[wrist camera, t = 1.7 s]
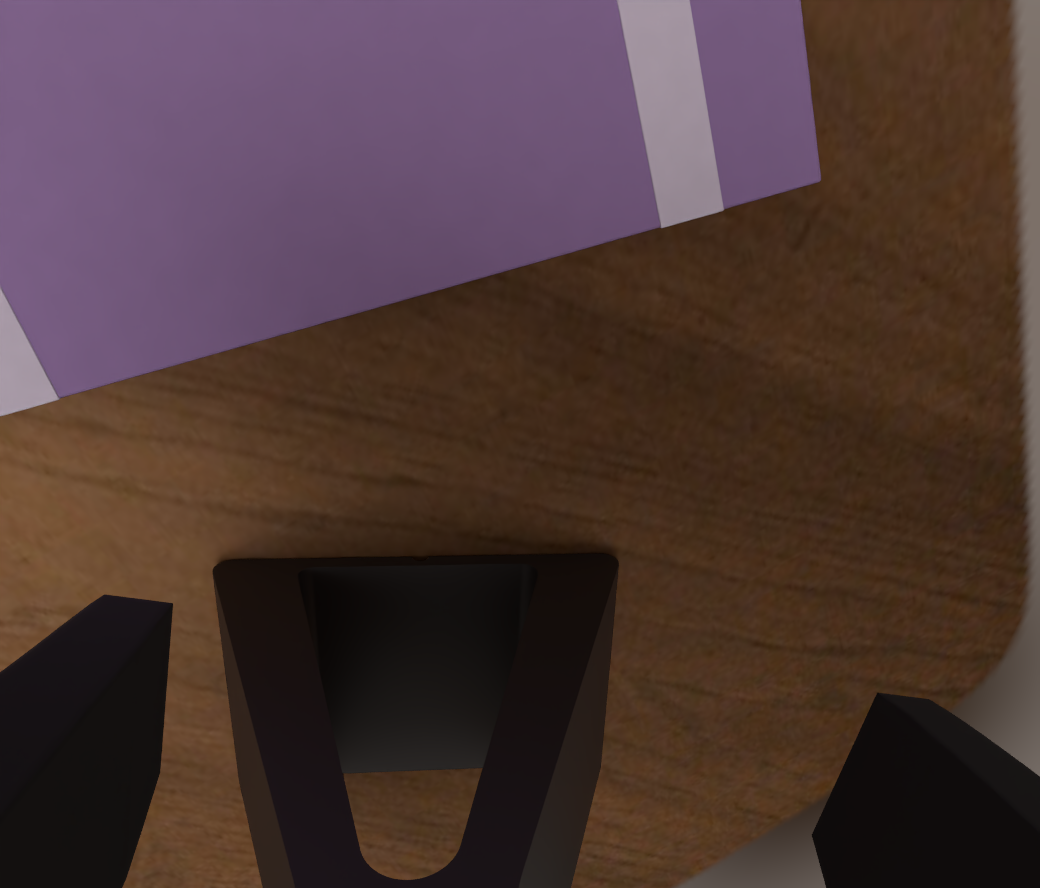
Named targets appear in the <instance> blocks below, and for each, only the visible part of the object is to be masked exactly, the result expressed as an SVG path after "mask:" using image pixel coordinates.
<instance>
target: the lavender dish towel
mask: <svg viewBox="0 0 1040 888" xmlns="http://www.w3.org/2000/svg"><path fill="white" fill-rule="evenodd" d="M819 181H821V174H820V165H819V157H818V148H817V139H816V131H815V122H814V113H813V105H812V96H811V87H810V79H809V70H808V61H807V53H806V44H805V35H804V27H803V18H802V10H801V1H800V0H0V416H3V415H7V414H10V413H14V412H18V411H21V410H25V409H28V408H32V407H35V406H39V405H42V404H46V403H49V402H53V401H56V400H59V399H60V398H62V397H66V396H69V395H73V394H76V393H80V392H83V391H87V390H90V389H94V388H97V387H101V386H104V385H108V384H111V383H115V382H118V381H122V380H125V379H129V378H132V377H136V376H140V375H143V374H147V373H150V372H154V371H157V370H161V369H164V368H168V367H171V366H175V365H178V364H182V363H185V362H189V361H192V360H196V359H199V358H203V357H206V356H210V355H213V354H217V353H220V352H224V351H227V350H231V349H234V348H238V347H241V346H245V345H248V344H252V343H255V342H259V341H263V340H266V339H270V338H273V337H277V336H280V335H284V334H287V333H291V332H294V331H298V330H301V329H305V328H308V327H312V326H315V325H319V324H322V323H326V322H329V321H333V320H336V319H340V318H343V317H347V316H350V315H354V314H357V313H361V312H364V311H368V310H371V309H375V308H379V307H382V306H386V305H389V304H393V303H396V302H400V301H403V300H407V299H410V298H414V297H417V296H421V295H424V294H428V293H431V292H435V291H438V290H442V289H445V288H449V287H452V286H456V285H459V284H463V283H466V282H470V281H473V280H477V279H480V278H484V277H487V276H491V275H495V274H498V273H502V272H505V271H509V270H512V269H516V268H519V267H523V266H526V265H530V264H533V263H537V262H540V261H544V260H547V259H551V258H554V257H558V256H561V255H565V254H568V253H572V252H575V251H579V250H582V249H586V248H589V247H593V246H596V245H600V244H603V243H607V242H610V241H614V240H618V239H621V238H625V237H628V236H632V235H635V234H639V233H642V232H646V231H649V230H653V229H656V228H660V227H661V228H664V227H668V226H671V225H675V224H678V223H682V222H685V221H689V220H692V219H696V218H700V217H703V216H707V215H710V214H714V213H717V212H721V211H724V209H726V208H730V207H734V206H737V205H741V204H744V203H748V202H751V201H755V200H758V199H762V198H765V197H769V196H772V195H776V194H779V193H783V192H786V191H790V190H793V189H797V188H800V187H804V186H807V185H811V184H814V183H818V182H819Z"/></svg>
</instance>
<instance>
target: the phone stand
mask: <svg viewBox="0 0 1040 888" xmlns="http://www.w3.org/2000/svg"><path fill="white" fill-rule="evenodd" d="M618 568H619V562H618V560H617V559H616V558H615V557H613V556H611V555H608V554H545V555H487V556H429V557H428V559H426V560H424V561H416V560H414V559H413V558H412V557H370V558H312V559H253V560H228V561H224V562H221V563H219V564H218V565H216V566H215V567H214V568H213V579H214V587H215V595H216V603H217V610H218V618H219V626H220V634H221V642H222V650H223V658H224V666H225V674H226V682H227V690H228V697H229V705H230V713H231V721H232V729H233V737H234V745H235V753H236V761H237V769H238V777H239V783H240V787H241V792H242V796H243V801H244V805H245V810H246V814H247V819H248V823H249V828H250V832H251V837H252V841H253V846H254V850H255V855H256V859H257V864H258V868H259V872H260V877H261V881H262V886H263V888H571V885H572V881H573V876H574V872H575V868H576V864H577V860H578V856H579V852H580V848H581V844H582V840H583V836H584V832H585V828H586V824H587V820H588V816H589V812H590V808H591V804H592V800H593V796H594V792H595V788H596V784H597V780H598V776H599V772H600V768H601V759H602V747H603V736H604V725H605V714H606V702H607V691H608V680H609V669H610V657H611V646H612V635H613V624H614V613H615V601H616V590H617V579H618ZM468 768H483V769H482V773H481V776H480V780H479V783H478V787H477V790H476V794H475V797H474V801H473V804H472V808H471V811H470V815H469V818H468V822H467V825H466V829H465V832H464V836H463V839H462V843H461V846H460V849H459V851H458V853H457V854H456V856H455V857H454V859H453V860H452V861H451V862H450V863H449V864H448V865H447V866H446V867H444V868H443V869H442V870H440V871H438V872H437V873H435V874H433V875H430V876H428V877H425V878H421V879H415V880H398V879H393V878H389V877H386V876H384V875H381V874H379V873H378V872H376V871H375V870H373V869H372V868H371V867H370V866H369V865H368V864H367V863H366V861H365V860H364V858H363V856H362V854H361V851H360V847H359V843H358V839H357V834H356V830H355V826H354V821H353V817H352V812H351V808H350V804H349V799H348V795H347V791H346V786H345V782H344V777H343V773H366V772H391V771H417V770H442V769H468Z"/></svg>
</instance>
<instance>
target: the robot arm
mask: <svg viewBox="0 0 1040 888" xmlns="http://www.w3.org/2000/svg"><path fill="white" fill-rule="evenodd" d="M172 610H173V603H167V602H159V601H151V600H143V599H135V598H127V597H119V596H111V595H103V596H102V597H100V598H99V599H97V600H96V601H94V602H92V603H91V604H90V605H88V606H87V607H86V608H84V609H83V610H82V611H80V612H79V613H78V614H76V615H75V616H74V617H72V618H71V619H70V620H68V621H67V622H66V623H64V624H63V625H62V626H61V627H59V628H58V629H57V630H55V631H54V632H53V633H51V634H50V635H49V636H48V637H46V638H45V639H44V640H42V641H41V642H40V643H38V644H37V645H36V646H34V647H33V648H32V649H31V650H29V651H28V652H27V653H25V654H24V655H23V656H21V657H20V658H19V659H17V660H16V661H15V662H13V663H12V664H11V665H9V666H8V667H7V668H5V669H4V670H3V671H1V672H0V888H122V887H123V885H124V882H125V880H126V877H127V874H128V871H129V868H130V865H131V862H132V859H133V856H134V853H135V850H136V847H137V844H138V841H139V838H140V835H141V831H142V828H143V825H144V822H145V819H146V816H147V812H148V809H149V806H150V803H151V800H152V796H153V793H154V790H155V787H156V784H157V780H158V777H159V774H160V767H161V754H162V741H163V728H164V715H165V701H166V688H167V675H168V662H169V649H170V636H171V623H172ZM812 837H813V841H814V845H815V848H816V852H817V855H818V859H819V863H820V866H821V870H822V874H823V877H824V881H825V885H826V888H1040V777H1039V776H1038V775H1037V774H1035V773H1034V772H1033V771H1031V770H1030V769H1029V768H1028V767H1026V766H1025V765H1024V764H1022V763H1021V762H1019V761H1018V760H1017V759H1015V758H1014V757H1013V756H1011V755H1010V754H1009V753H1007V752H1006V751H1004V750H1003V749H1002V748H1000V747H999V746H998V745H996V744H995V743H993V742H992V741H991V740H989V739H988V738H987V737H985V736H984V735H982V734H981V733H980V732H978V731H977V730H975V729H974V728H972V727H971V726H970V725H968V724H967V723H965V722H964V721H962V720H961V719H959V718H958V717H956V716H955V715H953V714H952V713H950V712H949V711H947V710H946V709H944V708H942V707H941V706H939V705H938V704H936V703H934V702H933V701H931V700H929V699H922V698H914V697H906V696H899V695H891V694H883V693H877V695H876V697H875V699H874V701H873V703H872V706H871V708H870V710H869V712H868V714H867V716H866V719H865V721H864V723H863V725H862V727H861V729H860V732H859V734H858V736H857V738H856V740H855V742H854V745H853V747H852V749H851V751H850V753H849V755H848V758H847V760H846V762H845V764H844V766H843V769H842V771H841V773H840V775H839V777H838V779H837V782H836V784H835V786H834V788H833V790H832V792H831V795H830V797H829V799H828V801H827V803H826V805H825V808H824V810H823V812H822V814H821V816H820V818H819V821H818V823H817V825H816V827H815V829H814V832H813V834H812Z"/></svg>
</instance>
